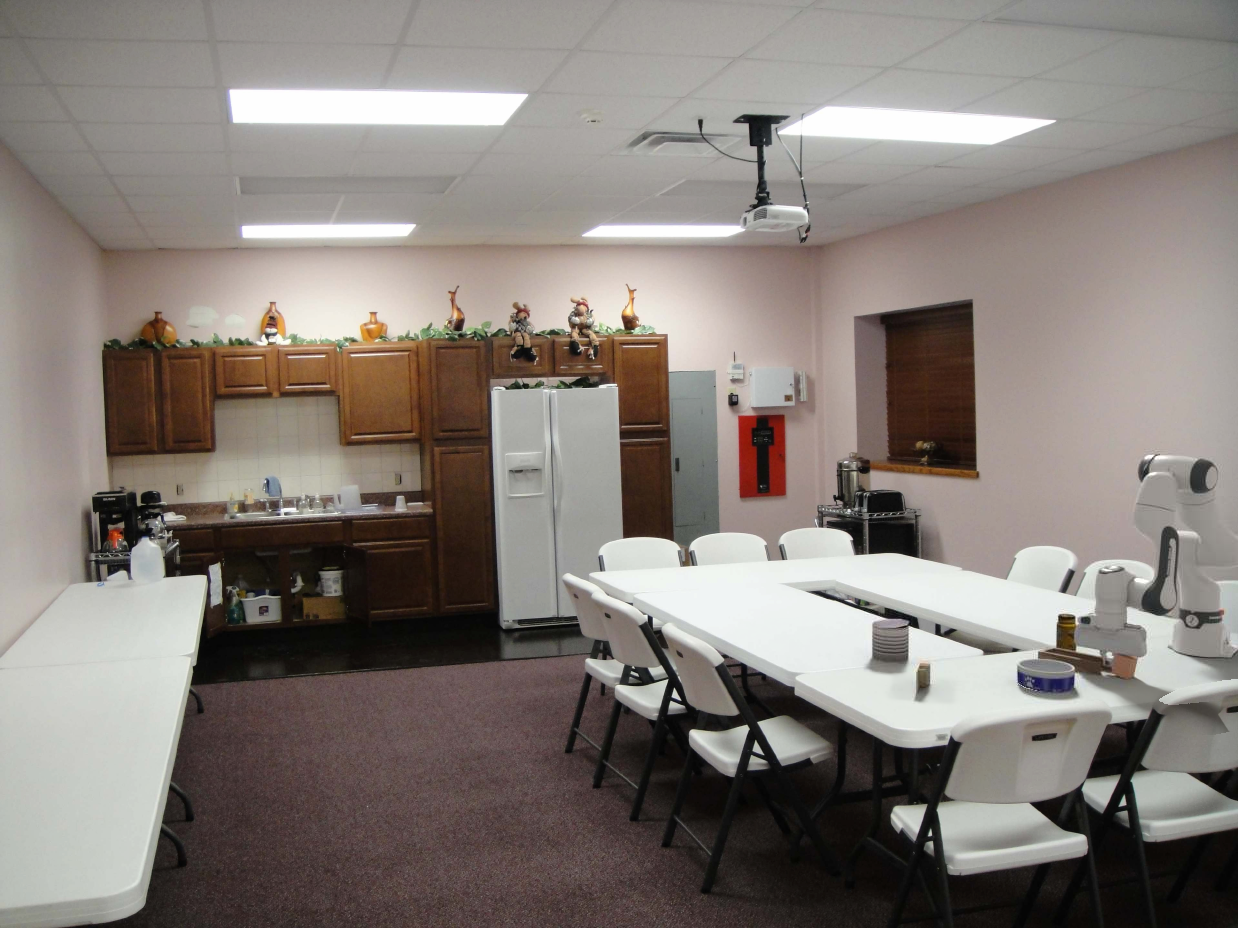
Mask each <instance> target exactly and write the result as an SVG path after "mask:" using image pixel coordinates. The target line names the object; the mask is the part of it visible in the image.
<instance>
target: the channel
mask: <svg viewBox="0 0 1238 928" xmlns="http://www.w3.org/2000/svg"><path fill="white" fill-rule="evenodd" d="M1049 647H1050V646H1049ZM1076 651H1077V650H1076ZM1076 651H1071V650H1065V649H1060V648H1056V647H1055V646H1051V647H1050V648H1045V649H1040V650H1038V651H1037V659H1048V660H1055V661H1061V662H1065V663H1068V664H1070V665H1072V666H1074V668H1075V671H1078V672H1082V673H1087V674H1092V675H1097V676H1101V675H1102V670H1104V671H1105V670H1106V671H1110V672H1112V669H1113V667H1109V666H1104V665H1103V659H1102V657H1101V655H1096V654H1095V655H1094V654H1091V653H1090V654H1089V653H1087V652H1086V653H1085V652H1080V651H1077V652H1076ZM1107 658H1108V659H1109V660H1112V659H1113V657H1111V658H1110V657H1107Z"/></svg>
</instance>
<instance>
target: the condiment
mask: <svg viewBox="0 0 1238 928" xmlns="http://www.w3.org/2000/svg"><path fill="white" fill-rule="evenodd" d="M1076 622H1077V621H1076V615H1074V614H1073V613H1059V614H1058V616H1057V622H1056V631H1055V632H1056V633H1055V635H1056V637H1055V638H1056V639H1055V640H1056V643H1055V645H1056V647H1055V648H1060V649H1065V650H1071V651H1076V652H1078V651H1077V645H1076V644H1075V642H1074V635H1075V628H1076V626H1077V625H1078V624H1077V623H1076ZM1047 648H1050V646H1049V647H1046V648H1045V649H1047Z"/></svg>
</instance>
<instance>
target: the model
mask: <svg viewBox="0 0 1238 928" xmlns="http://www.w3.org/2000/svg"><path fill="white" fill-rule="evenodd" d="M915 673H916V674H915V679H916V680H915V682H916V683H915V684H916V685H915V693H916V694H918V692H919V690H920V689H919V688H920V687H928V685H931V660H923V659H922V660H921V659H920V660H919V661H918V664H917V667H916V672H915Z"/></svg>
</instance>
